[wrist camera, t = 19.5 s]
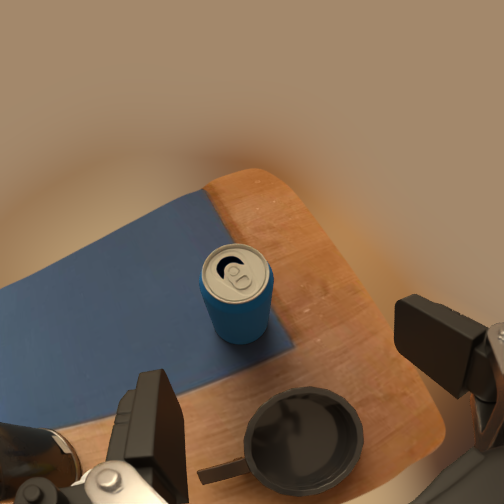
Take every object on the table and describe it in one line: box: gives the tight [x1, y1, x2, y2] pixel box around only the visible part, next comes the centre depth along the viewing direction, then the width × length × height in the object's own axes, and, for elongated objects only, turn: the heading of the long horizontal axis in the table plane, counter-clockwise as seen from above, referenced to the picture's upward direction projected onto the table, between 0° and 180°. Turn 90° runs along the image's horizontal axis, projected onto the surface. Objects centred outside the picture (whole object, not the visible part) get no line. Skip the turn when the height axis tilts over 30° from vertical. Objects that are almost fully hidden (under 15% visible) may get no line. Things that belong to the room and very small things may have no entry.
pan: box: [244, 387, 364, 497], centre depth 25 cm, size 12×12×4 cm
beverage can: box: [199, 244, 274, 345], centre depth 29 cm, size 6×6×12 cm
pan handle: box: [197, 457, 251, 485], centre depth 23 cm, size 5×2×4 cm, turn 111°
